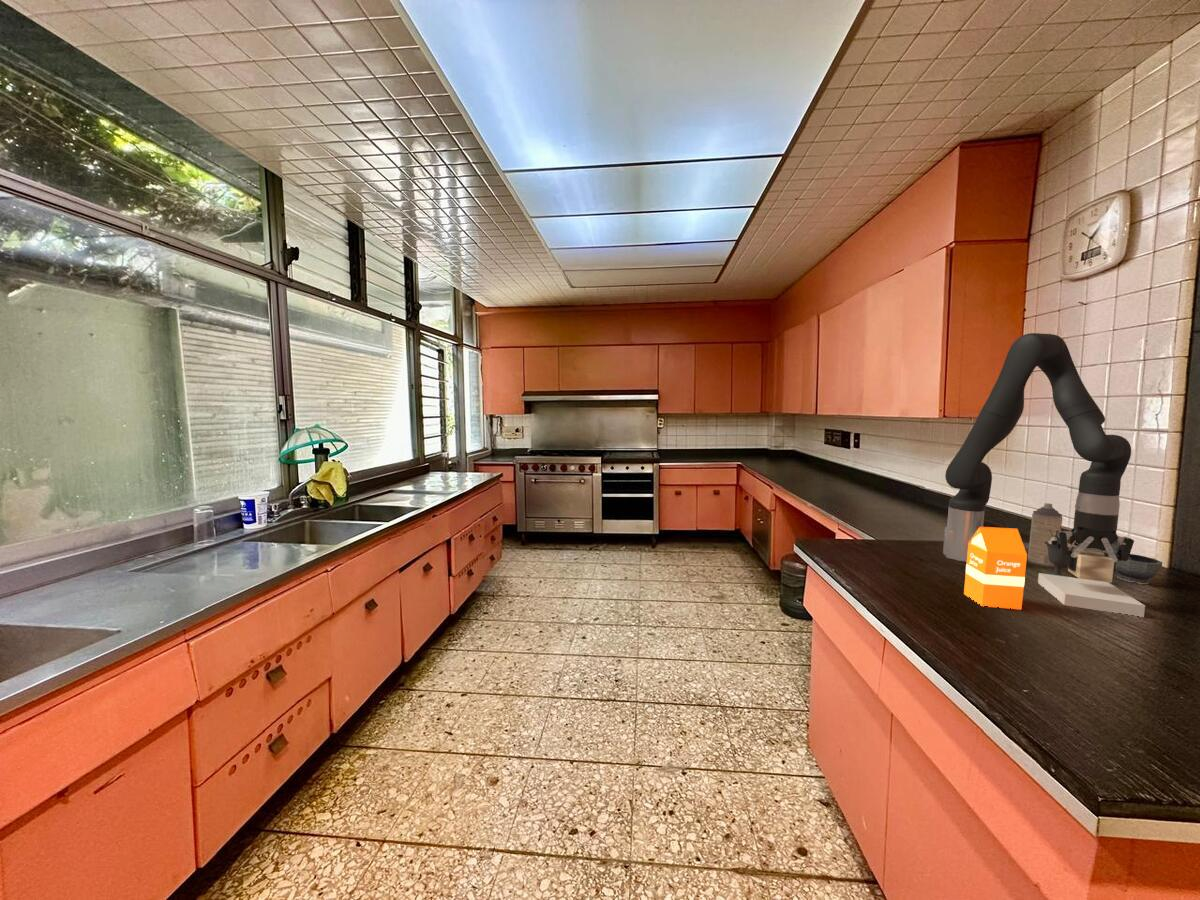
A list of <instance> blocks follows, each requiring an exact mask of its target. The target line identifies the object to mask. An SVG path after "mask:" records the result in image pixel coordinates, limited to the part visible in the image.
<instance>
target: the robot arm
mask: <svg viewBox="0 0 1200 900" xmlns="http://www.w3.org/2000/svg"><path fill="white" fill-rule="evenodd" d="M1036 367H1038V368H1039V369H1040V370H1041V371H1042V372H1043V373H1044V374H1045V376H1046V377H1047V379H1048V381H1049V383H1050V386H1051V390H1052V391H1051V392H1052V400H1053V404H1054V407H1055V409H1056V411H1057V412H1058V414H1059V415H1060V418H1061V419H1062V420H1063V422H1064V423H1065V425H1066V426H1067V427H1068V428H1067V429H1068V433H1069V437H1070V440H1071V444H1072V447H1073V449H1074V450H1075V452H1076V453H1077V454H1078V456H1080V457H1081V459H1083V460H1085V461H1087V462H1091V463H1090V466H1089V468H1088V469H1086V470H1085V471H1083V472H1081V474H1080V478H1079V482H1078V483H1079V484H1078V492H1077V496H1076V499H1075V504H1074V509H1075V510H1074V516H1073V528H1072V529H1071V530H1069V531H1066V530H1065V531H1063V530H1061V531H1060V530H1057V531H1056V537H1057V547H1058V551H1060V552H1061V553H1063V554H1066V555H1067V562H1066V565H1065V566H1066V567H1067V569H1068V568H1069V569H1070V570H1071V571H1076V566H1077V558H1076V557H1077V556H1078V554H1080V552H1082V551H1085V550H1086V549H1096V550H1099V551H1102V554H1104V555H1105V556H1108V557H1109V558H1112V559H1114V568H1113V575H1114V574H1115V572H1116V571H1115V567H1116V562H1118V561H1127V560H1128V558H1129V555H1130V554H1131V552H1132V549H1133V546H1134V544H1135V540H1134V539H1132V538H1130V537H1128V536H1119V535H1118V534H1117V530H1118V524H1119V523H1118V522H1119V515H1120V505H1121V503H1120V493H1121V485H1122V484H1121V483H1122V481H1121V480H1122V478H1123V475H1124V473H1125V472H1126V469H1127V467H1128V464H1129V462H1130V459H1131V456H1132V446H1131V444H1130V442H1129V440H1128V439H1126V438H1125V437H1123V436H1121V435H1119V434H1106V432H1105V429H1104V428H1103V426H1102V425H1103V424H1104V423H1105V421H1106V418H1105V417H1106V416H1105V415H1104V413H1103V411H1102V410H1101V409H1100V407H1099V406H1098V404H1097V403H1096V402H1095V400H1094V398H1093V396H1091V394H1090V393H1089V391H1088V390H1087V388H1086V386H1085V384H1084V383H1083V381H1082V379H1081V377H1080V375H1079V372H1078V370H1077V367H1076V365H1075V363H1074V361H1073V358H1072V356H1071V352H1070V350H1069V347H1068V346H1067V344H1066V341H1065V340H1064V338H1062V337H1061V336H1059V335H1058V334H1057V335H1056V334H1052V333H1042V332H1041V333H1039V332H1037V333H1034V332H1031V333H1030V332H1029V333H1025V334H1023V335H1021V336H1019V337H1018V338H1017V339H1015V341H1013V343H1012V344H1011V346H1010V348H1009V350H1008V351H1007V353H1006V357H1005V360H1004V362H1003V365H1002V367H1001V370H1000V373H999V375H998V377H997V380H996V381H995V383H994V385H993V387H992V389H991V391H990V393H989V395H988V397H987V400H985V403H984V404H983V406H982V408H981V409H980V411H979V413H978V415H977V417H976V419H975V421H974V423H973V426H972V427H971V429H970V431H969V433H968V435H967V436H966V438H965V440H964V441H963V443H962V446H960V448H959V450H958V451H957V453H956V455H954V458H953V459H952V460H951V461H950V463H949V464H948V466H947V468H946V470H945V476H944V478H945V480H946V484H948V486H950V487H951V488H953V489H957V490H958V489H959V490H958V492H957V493H956V494H955V495H954V496H952V497H950V498H949V500H948V513H947V521H946V522H947V523H946V524H947V525H946V526H945V527H944V536H943V548H942V554H943V555H944V556H945V558H946V559H950V560H955V561H959V562H964V563H967V553H968V543H969V541H970V540H971V539H972V537H973V536H974V534H975V533H976V531H977V530H978V529H979V527H984V521H985V520H984V519H985V518H984V517H985V510H986V509H985V508H986V505H987V504H988V503H989V500H990V495H991V488H992V481H993V474H992V471H991V470H992V469H991V468H990V466H989V465H988V464H986V463H985V462H983V460H984V458H985V457H986V456H987V455H988V453H989V452H991V450H993V449H994V448H995V447H996V446H997V445H999V444H1000V443H1001V442H1002V441H1003V440H1005V439H1006V438H1007V437H1008V436H1009V435H1010V434H1011V433H1012V431H1013V430H1014V428H1016V425H1017V424H1018V422H1019V420H1020V419H1021V416H1022V414H1023V412H1024V408H1025V388H1026V385H1027V383H1028V380H1029V379H1030V377H1031V375H1032V373H1033V372H1034V371H1035V369H1036ZM1071 537H1073V539H1074V541H1073V542H1072V543H1071V544H1072V545H1071V547H1070V549H1069V550H1068V546H1067V540H1068V541H1069V540H1070V538H1071ZM1117 540H1118V544H1120V545H1119V548H1118V551H1117V554H1116V555H1115V554H1114V551H1113V549H1112V547H1111V544H1113V543H1114V542H1115V541H1117Z"/></svg>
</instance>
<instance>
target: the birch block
mask: <svg viewBox="0 0 1200 900" xmlns="http://www.w3.org/2000/svg"><path fill="white" fill-rule="evenodd" d="M1076 558H1077V566H1076V571H1071V570H1070V569H1069V568H1068V567H1067V571H1068V572H1069V573H1070V574H1071V575H1074V576H1075V578H1080V579H1088V580H1095V581H1103V582H1108V583H1110V584H1112V583H1113V576H1114V574H1113V568H1114V559H1112V558H1109V557H1108V556H1105V555H1104V553H1103V552H1102V553H1101V552H1094V551H1087V550H1084V551H1082V552H1080V554H1078V556H1077V557H1076Z"/></svg>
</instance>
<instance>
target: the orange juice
mask: <svg viewBox="0 0 1200 900" xmlns="http://www.w3.org/2000/svg"><path fill="white" fill-rule="evenodd" d="M1018 529H1019V528H1012V527H1011V528H1009V527H993V526H991V527H990V526H983V527H979V529H978V530H977V531H976V533H975V534H974V536H973V537H972V539H971V540H970V541H969V543H968V553H967V562H966V565H965V576H964V578H965V579H964V588H963V595H965V596H966V597H967V598H969V597H970V598H971V599H970V598H969V599H970V600H972V601H973V600H974V601H973V602H975V603H976V602H977V604H978V605H979V604H980V605H979V606H981V607H984V606H988V607H987V608H997V607H999V608H1000V609H1010V608H1011V610H1012V609H1013V610H1022V605H1023V598H1024V590H1025V588H1024V587H1025V581H1026V580H1025V579H1026V569H1027V561H1028V553H1027V551H1026V549H1025V545H1024V542H1023V541H1022V537H1021V534H1020V532H1019V530H1018Z"/></svg>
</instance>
